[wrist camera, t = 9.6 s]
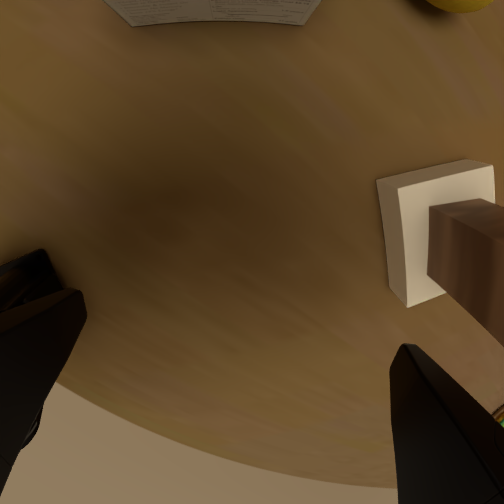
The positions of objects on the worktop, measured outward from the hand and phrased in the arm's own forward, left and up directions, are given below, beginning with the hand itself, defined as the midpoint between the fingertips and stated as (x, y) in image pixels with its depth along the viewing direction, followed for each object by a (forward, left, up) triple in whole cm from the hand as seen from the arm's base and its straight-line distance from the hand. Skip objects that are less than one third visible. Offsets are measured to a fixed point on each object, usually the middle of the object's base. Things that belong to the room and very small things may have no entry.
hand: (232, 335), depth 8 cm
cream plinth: (+13, -4, -12) cm, 18 cm away
